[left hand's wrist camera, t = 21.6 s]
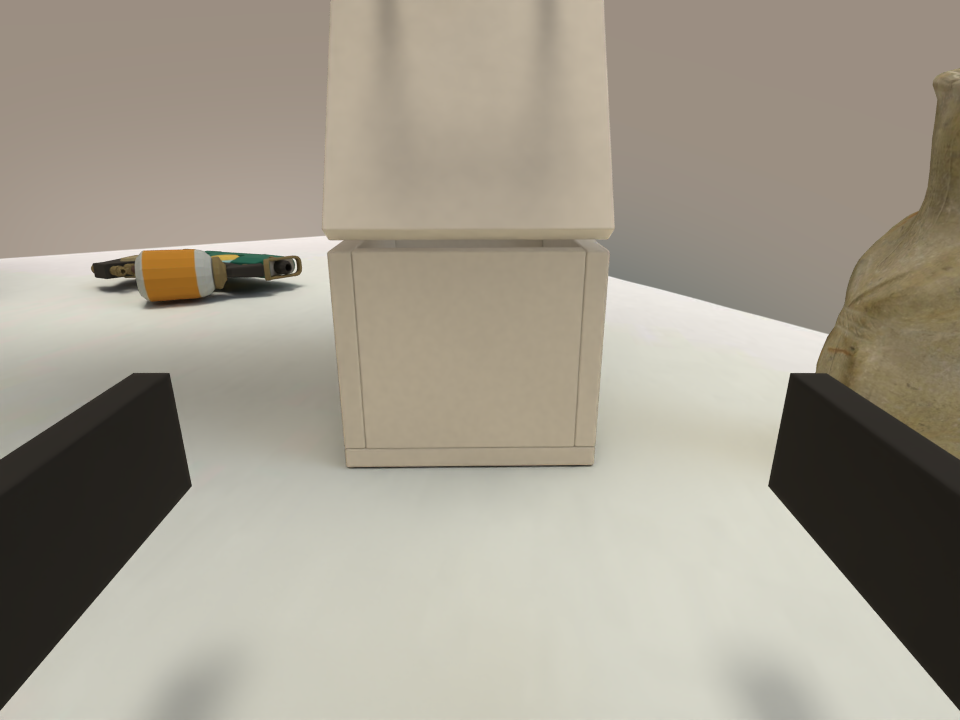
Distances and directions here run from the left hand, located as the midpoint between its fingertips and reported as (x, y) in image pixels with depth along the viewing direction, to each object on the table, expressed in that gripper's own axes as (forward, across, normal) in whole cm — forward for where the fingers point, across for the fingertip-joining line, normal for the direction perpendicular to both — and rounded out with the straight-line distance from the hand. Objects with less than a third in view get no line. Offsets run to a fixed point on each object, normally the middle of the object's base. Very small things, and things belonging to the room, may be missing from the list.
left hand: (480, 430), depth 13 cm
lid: (+14, 0, +9) cm, 16 cm away
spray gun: (+43, -27, -7) cm, 51 cm away
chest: (+17, 0, -7) cm, 18 cm away
